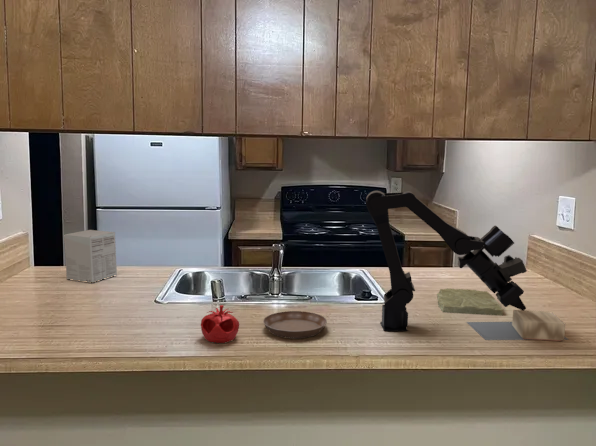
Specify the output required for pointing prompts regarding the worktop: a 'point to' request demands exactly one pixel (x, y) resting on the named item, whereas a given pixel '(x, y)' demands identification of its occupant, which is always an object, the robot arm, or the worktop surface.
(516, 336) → the rubber mat
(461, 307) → the decorative tile
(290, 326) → the plant saucer
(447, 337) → the worktop surface
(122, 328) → the worktop surface
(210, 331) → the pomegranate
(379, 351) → the worktop surface
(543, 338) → the maple block
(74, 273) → the supplement box
